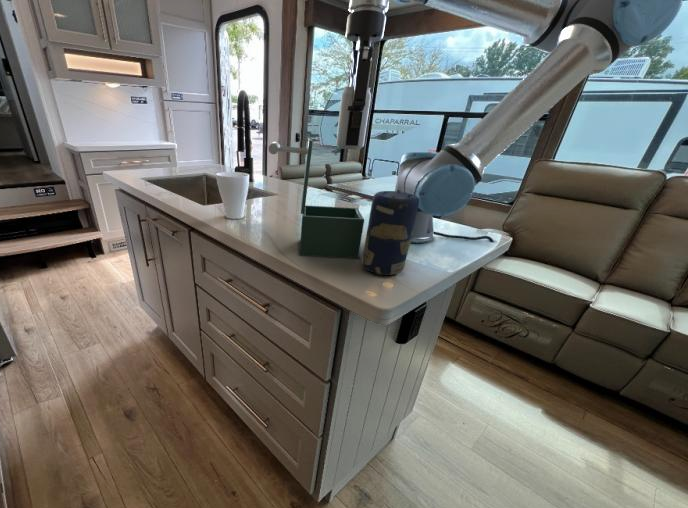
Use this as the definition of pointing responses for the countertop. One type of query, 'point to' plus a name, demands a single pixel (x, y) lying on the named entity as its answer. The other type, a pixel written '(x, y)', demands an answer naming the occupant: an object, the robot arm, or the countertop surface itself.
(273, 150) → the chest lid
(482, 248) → the countertop surface
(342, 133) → the beverage can
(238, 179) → the cup
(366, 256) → the canister
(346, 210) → the chest
